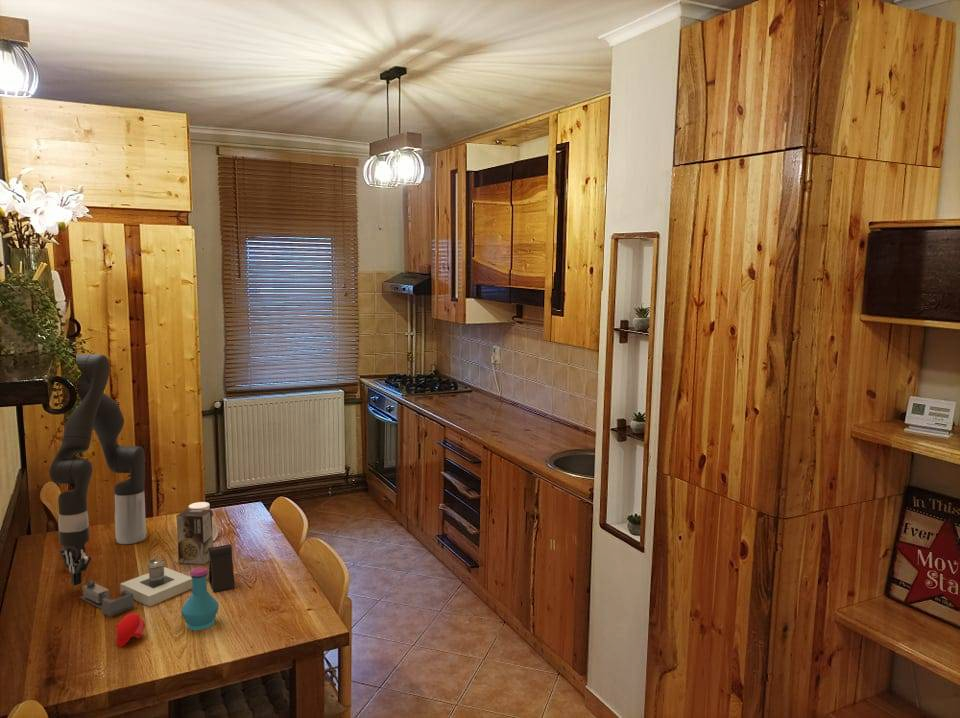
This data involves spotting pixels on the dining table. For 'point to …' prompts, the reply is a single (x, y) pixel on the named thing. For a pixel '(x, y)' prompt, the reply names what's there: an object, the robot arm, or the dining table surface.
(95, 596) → the bolt
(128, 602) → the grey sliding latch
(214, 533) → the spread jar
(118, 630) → the cap
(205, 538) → the coffee box
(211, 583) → the phone stand
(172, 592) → the socket
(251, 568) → the dining table surface
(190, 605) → the perfume bottle
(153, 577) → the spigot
